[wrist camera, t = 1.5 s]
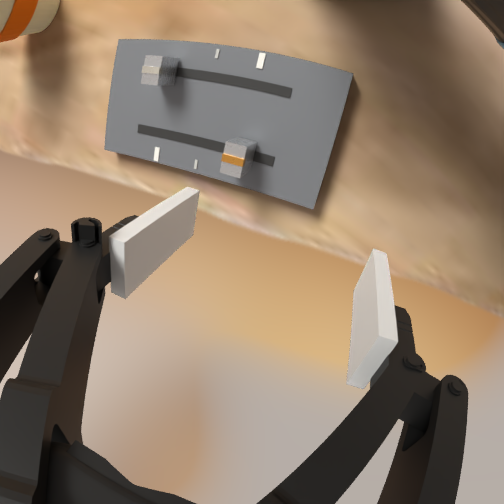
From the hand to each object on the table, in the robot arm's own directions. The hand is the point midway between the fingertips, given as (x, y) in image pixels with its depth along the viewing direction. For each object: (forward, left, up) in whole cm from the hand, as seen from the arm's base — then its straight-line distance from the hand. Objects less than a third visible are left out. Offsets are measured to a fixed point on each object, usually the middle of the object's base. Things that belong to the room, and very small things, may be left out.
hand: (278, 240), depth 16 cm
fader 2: (+6, -4, -15) cm, 17 cm away
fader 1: (+11, -15, -15) cm, 24 cm away
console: (+9, -9, -18) cm, 22 cm away
